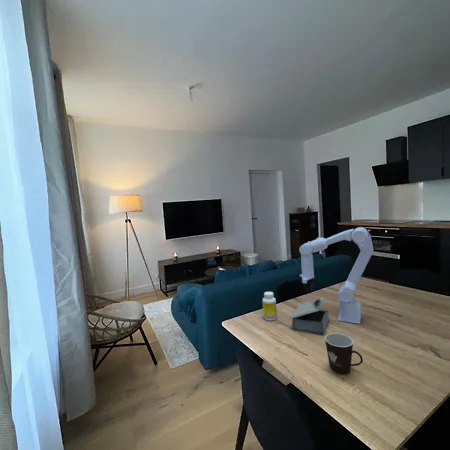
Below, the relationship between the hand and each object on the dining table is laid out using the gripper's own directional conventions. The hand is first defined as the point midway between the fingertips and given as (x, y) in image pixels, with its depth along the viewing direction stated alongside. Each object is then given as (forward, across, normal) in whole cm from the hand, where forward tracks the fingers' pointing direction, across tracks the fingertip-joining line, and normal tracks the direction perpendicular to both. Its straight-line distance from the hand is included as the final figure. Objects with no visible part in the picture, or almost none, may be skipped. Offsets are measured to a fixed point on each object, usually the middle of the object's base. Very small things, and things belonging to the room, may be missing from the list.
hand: (308, 292), depth 127 cm
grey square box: (+10, +13, +4) cm, 17 cm away
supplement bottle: (+11, +14, -16) cm, 24 cm away
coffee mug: (+11, +41, +20) cm, 47 cm away
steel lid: (+3, +13, +3) cm, 14 cm away
